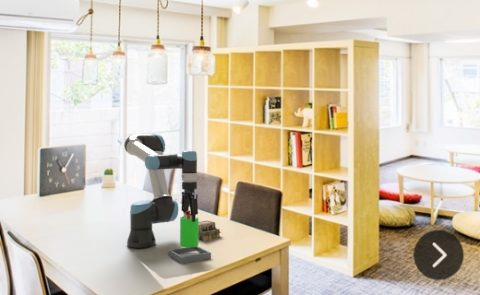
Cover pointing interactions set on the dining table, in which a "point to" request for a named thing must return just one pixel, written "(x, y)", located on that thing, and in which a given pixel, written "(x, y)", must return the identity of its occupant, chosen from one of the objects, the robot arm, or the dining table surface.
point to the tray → (189, 254)
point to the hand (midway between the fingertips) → (189, 226)
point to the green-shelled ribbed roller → (188, 231)
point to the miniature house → (207, 230)
